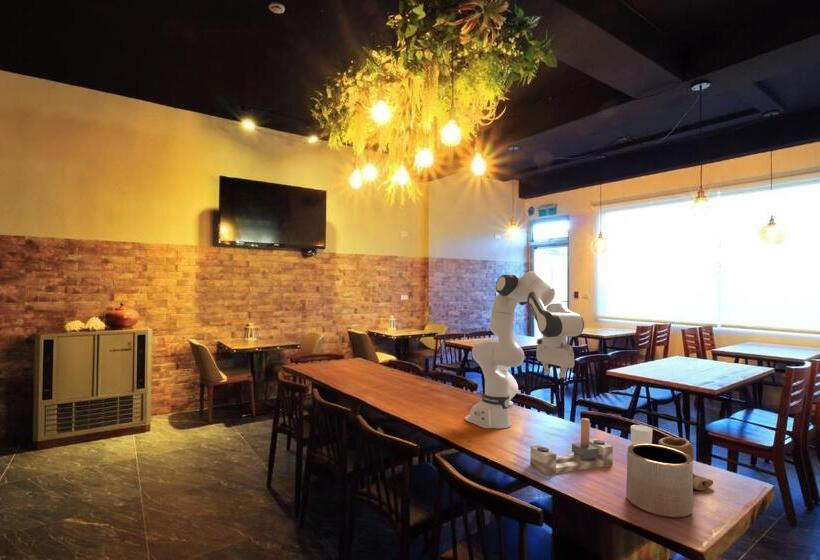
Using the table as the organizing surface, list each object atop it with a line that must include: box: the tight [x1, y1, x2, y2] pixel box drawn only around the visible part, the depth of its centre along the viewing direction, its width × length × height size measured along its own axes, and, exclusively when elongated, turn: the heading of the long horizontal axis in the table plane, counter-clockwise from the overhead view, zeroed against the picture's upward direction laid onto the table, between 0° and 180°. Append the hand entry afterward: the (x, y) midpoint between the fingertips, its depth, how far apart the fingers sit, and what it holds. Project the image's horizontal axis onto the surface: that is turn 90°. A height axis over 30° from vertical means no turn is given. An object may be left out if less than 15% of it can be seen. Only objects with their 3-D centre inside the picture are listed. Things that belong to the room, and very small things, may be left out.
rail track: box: [529, 438, 614, 476], centre depth 162 cm, size 30×9×7 cm, turn 110°
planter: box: [625, 443, 694, 519], centre depth 134 cm, size 18×18×16 cm
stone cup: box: [657, 436, 714, 491], centre depth 149 cm, size 15×12×15 cm
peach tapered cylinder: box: [571, 417, 598, 460], centre depth 164 cm, size 6×7×14 cm
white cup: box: [630, 424, 654, 445], centre depth 176 cm, size 8×8×10 cm
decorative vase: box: [498, 366, 519, 406], centre depth 248 cm, size 18×18×25 cm
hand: (554, 375), depth 183 cm, fingers open, 8 cm apart
